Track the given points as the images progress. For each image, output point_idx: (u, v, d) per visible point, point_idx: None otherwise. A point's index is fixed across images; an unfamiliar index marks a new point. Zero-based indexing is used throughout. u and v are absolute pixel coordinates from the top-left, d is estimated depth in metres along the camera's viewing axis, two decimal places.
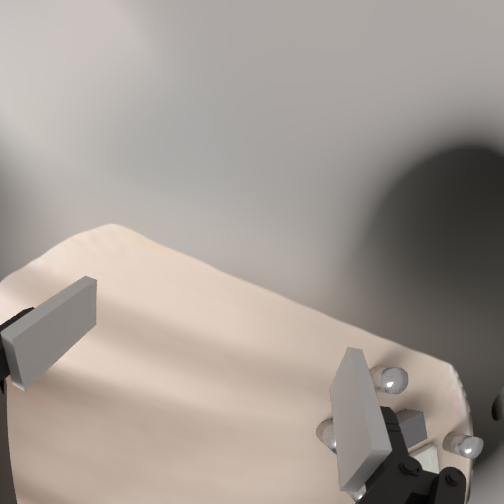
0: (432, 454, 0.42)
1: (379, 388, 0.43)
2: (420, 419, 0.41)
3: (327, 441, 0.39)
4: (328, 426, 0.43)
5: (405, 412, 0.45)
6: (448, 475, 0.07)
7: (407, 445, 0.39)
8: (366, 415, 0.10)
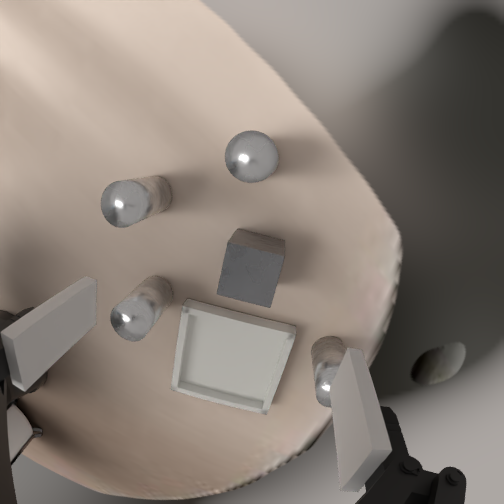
0: (284, 345, 0.35)
1: None
2: (273, 265, 0.28)
3: None
4: None
5: (270, 241, 0.31)
6: (448, 475, 0.07)
7: (229, 291, 0.29)
8: (366, 415, 0.10)
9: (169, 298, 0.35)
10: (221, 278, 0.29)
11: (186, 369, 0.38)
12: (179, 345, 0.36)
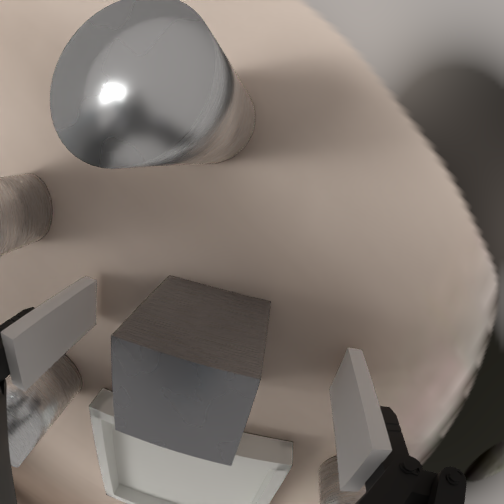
0: (271, 474, 0.17)
1: None
2: (231, 396, 0.10)
3: None
4: None
5: (235, 314, 0.13)
6: (448, 475, 0.07)
7: (139, 431, 0.11)
8: (366, 415, 0.10)
9: (70, 388, 0.17)
10: (116, 406, 0.11)
11: (123, 474, 0.20)
12: (101, 454, 0.18)
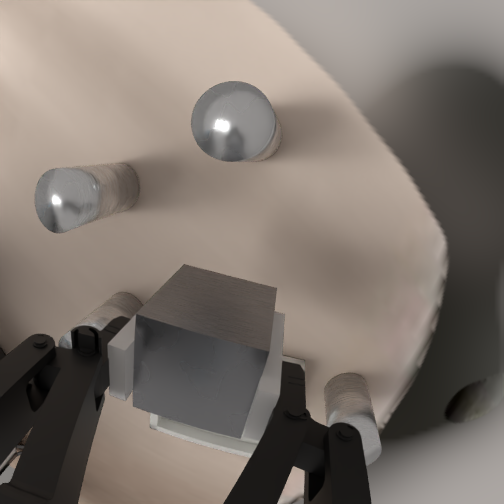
0: None
1: None
2: (243, 368, 0.11)
3: None
4: None
5: (245, 298, 0.15)
6: (338, 431, 0.09)
7: (156, 406, 0.12)
8: None
9: None
10: (136, 382, 0.12)
11: None
12: None
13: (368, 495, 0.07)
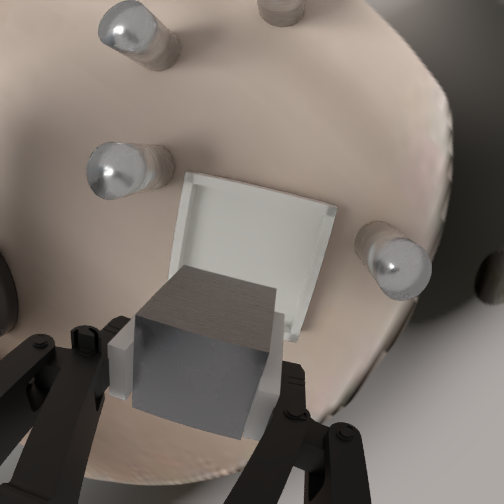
0: (321, 226, 0.26)
1: None
2: (243, 369, 0.11)
3: None
4: None
5: (245, 299, 0.15)
6: (338, 431, 0.09)
7: (155, 407, 0.12)
8: None
9: (168, 166, 0.26)
10: (135, 383, 0.12)
11: None
12: (179, 232, 0.27)
13: (368, 495, 0.07)
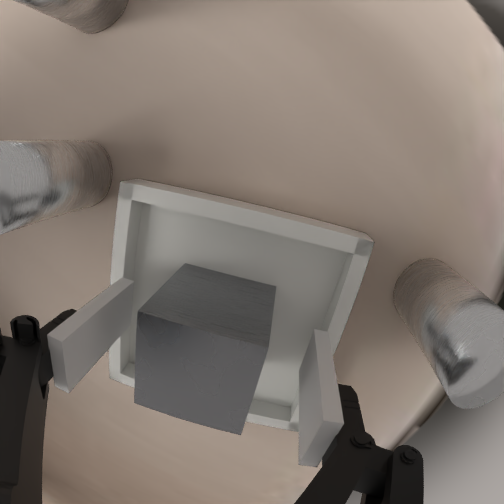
0: (346, 272, 0.15)
1: None
2: (243, 364, 0.12)
3: None
4: None
5: (245, 296, 0.15)
6: (403, 454, 0.08)
7: (157, 402, 0.13)
8: (321, 389, 0.11)
9: (99, 173, 0.16)
10: (137, 378, 0.12)
11: None
12: (116, 278, 0.16)
13: None
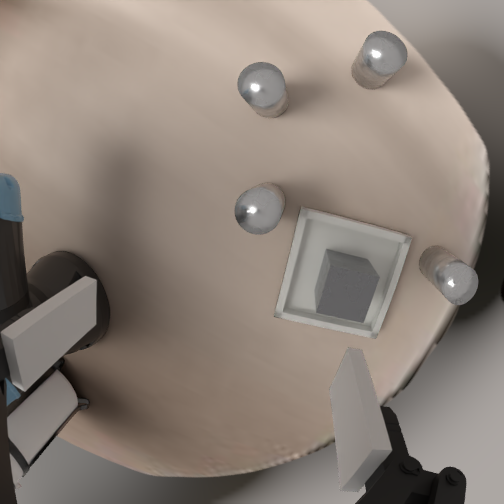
0: (399, 251, 0.33)
1: (360, 57, 0.25)
2: (369, 285, 0.29)
3: None
4: None
5: (360, 262, 0.33)
6: (448, 475, 0.07)
7: (328, 310, 0.31)
8: (366, 415, 0.10)
9: None
10: (322, 298, 0.30)
11: (292, 291, 0.37)
12: (293, 256, 0.34)
13: None
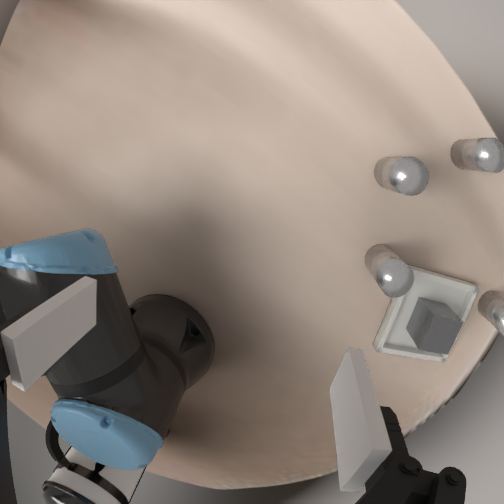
0: (469, 297, 0.38)
1: (471, 153, 0.30)
2: (456, 328, 0.34)
3: (391, 165, 0.31)
4: None
5: (444, 308, 0.38)
6: (448, 475, 0.07)
7: (427, 347, 0.36)
8: (366, 415, 0.10)
9: None
10: (424, 339, 0.35)
11: (389, 330, 0.42)
12: (398, 305, 0.39)
13: None
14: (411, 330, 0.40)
